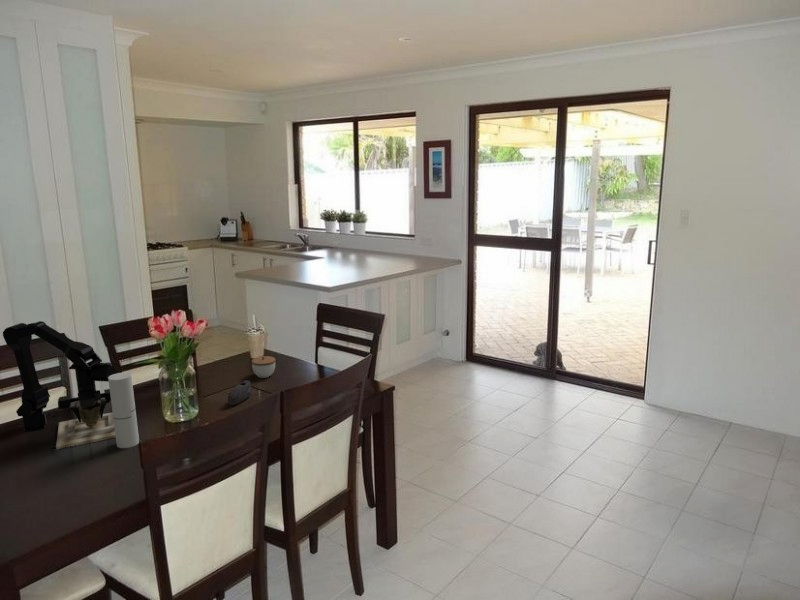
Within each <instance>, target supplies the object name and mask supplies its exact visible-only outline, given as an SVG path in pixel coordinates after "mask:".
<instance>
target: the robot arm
mask: <svg viewBox="0 0 800 600" xmlns="http://www.w3.org/2000/svg"><path fill="white" fill-rule="evenodd" d="M33 335H34V336H36V337H37V338H40V339H41V340H42V341H44V342H46V343H48V344H49V345H51V346H53V347H55V348H57V349H58V350H60V351H61V352H63V355H65V358H66V359H67V360H68V361H70V362H71V363H72V364H71V365H70V366H69V367H68V370H74V372H75V379H76V380H75V381H76V387H77V397H72V396H71V395H63V396H59V398H58V399H57V407H58V410H64V409H67V410H68V411H69V410H70V411H71V412H72V413H73V414H74V415H75V417H76V419H78V420H79V422H81V418H80V415H79V411H78V408H79V407H78V406H81V407H85V406H93V405H95V404H96V402H95V401H97V402H99V401H100V403H101V405H100V417H101V419H102V416H103V414H104V410H105V408H106V406H107V404H109V403H111V396H110V388H107V389H106V388H105V389H104V390H103V391H104V392H103V393H102V392H101V389H97V387H96V386H97V385H96V382H107V383H109V381H108V377H109V376H111V375H113V374H117V371H116V369H115V367H114V366H113V365H112V363H111V362H109V361H108V362H103V359H101V357H100V356H99V355H98V354H97V353H96V351H95V350H94V347H93V346H91V345H89V344H87V343H84V342H80V341H75V340H73V339H71V338H69V337H67V336H66V335H64V334H62V333H61V332H59V331H57V329H54V328H53V327H51V326H49V325H48V324H47V323H46V322H45V321H42V320H39V321H36V322H31V323H24V322H19V323H18V324H17V323H16V324H14V325H11V326H9V327H6V328H4V330H3V332H2V337H3V339H4V342H5V343H6V346H7V347H9V348H10V349H11V350H12V351H13V353H14V357H15V361H16V364H17V368H18V372H19V375H20V378H21V383H22V387H23V388H22V389H23V390H22V392H21V397H20V399H21V405H20V406H18V407H17V409H16V411H15V412H16V414H17V416H18V417H22V422H23V432H24V433H25V432H27V433H28V432H33V431H38V430H43V429H45V427H46V425H47V415H46V412H44V409H46V408H47V406H48V403H49V402H50V398H51V394H50V393H49V388H48V386H43V385H42V384H40V381H39V377H38V373H37V370H36V365H35V362H34V359H33V356H32V351H31V348H30V346H31V343H32V340H33V339H32V338H33ZM78 403H79V405H78ZM77 407H78V408H77Z"/></svg>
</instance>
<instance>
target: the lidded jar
mask: <svg viewBox="0 0 800 600" xmlns="http://www.w3.org/2000/svg"><path fill="white" fill-rule="evenodd" d="M251 366H252V367H251V368H252V370H253V371H252V372H253V373H254V374H255V375H256V376H257V377H258V378H262V379H264V378H265V379H266V378H269V376H270V377H271V376H272V375H273V373H274V372H275V370H276V369H275V368H276V358H275V357H274V356H271V355H270V356H269V355H266V356H265V355H263V356H258V357H255V358H253V359H251Z"/></svg>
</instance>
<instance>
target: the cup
mask: <svg viewBox="0 0 800 600" xmlns="http://www.w3.org/2000/svg"><path fill="white" fill-rule="evenodd" d="M95 402H96V404H95V405H93V406H85V407H81V406H80V405H78V407H77V408H78V411H79V415H80V418H81V420H82V421H83V422H85V423H86V426H88V427H92V426H95V425H96V424H97V420H98V419H99V418H100V405H101V401H95Z"/></svg>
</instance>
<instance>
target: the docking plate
mask: <svg viewBox="0 0 800 600" xmlns="http://www.w3.org/2000/svg"><path fill="white" fill-rule="evenodd" d="M56 438H57V439H56V443H55V444H56V445H55V448H56V449H55V450H60V449H65V447H66V448H71V447H76V446H80V445H86V444H91V443H95V442H96V443H97V442H101V441H106V440H111V439H116V435H115V428H114V420H113V412H108V413H103V416H102V419H101V417H100V418H99V419H98V420H97V424H96V425H95V426H92V427H88V426H86V423H85V422H83V421H82V420H81V422H79V420H78V418H74V419H68V420H65V421H64V420H63V421H60V422H58V429H57V437H56ZM75 445H76V446H75ZM70 446H71V447H70Z"/></svg>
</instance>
